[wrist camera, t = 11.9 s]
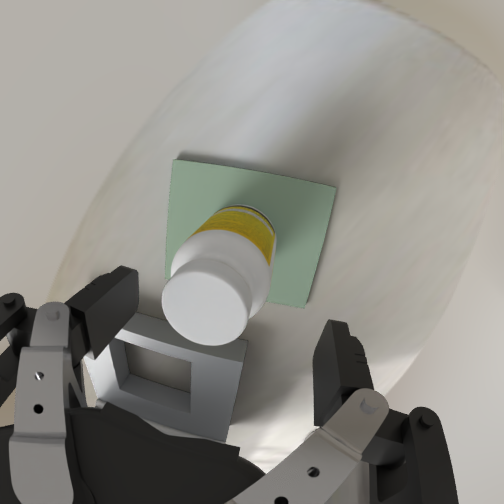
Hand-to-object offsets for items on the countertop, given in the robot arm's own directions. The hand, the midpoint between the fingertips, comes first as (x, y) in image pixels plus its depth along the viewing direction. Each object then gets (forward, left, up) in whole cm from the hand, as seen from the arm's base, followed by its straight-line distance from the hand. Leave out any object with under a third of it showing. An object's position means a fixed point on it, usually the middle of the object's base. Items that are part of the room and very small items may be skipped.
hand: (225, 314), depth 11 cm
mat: (+1, 0, -11) cm, 11 cm away
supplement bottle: (+1, 0, -11) cm, 11 cm away
